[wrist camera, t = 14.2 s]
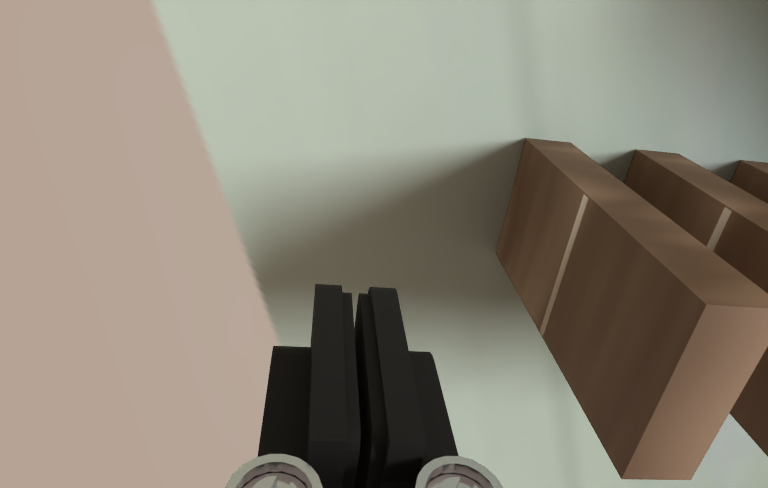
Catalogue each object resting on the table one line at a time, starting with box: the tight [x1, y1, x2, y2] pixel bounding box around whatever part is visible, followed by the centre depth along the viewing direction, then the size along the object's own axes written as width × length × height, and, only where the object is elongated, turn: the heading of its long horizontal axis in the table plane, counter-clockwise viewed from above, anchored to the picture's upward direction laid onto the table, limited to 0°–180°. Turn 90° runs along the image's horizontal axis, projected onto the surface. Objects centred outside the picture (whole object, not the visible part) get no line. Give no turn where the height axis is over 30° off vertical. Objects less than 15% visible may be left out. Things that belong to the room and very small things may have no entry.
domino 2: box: [624, 150, 768, 456], centre depth 17 cm, size 2×5×11 cm, turn 172°
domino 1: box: [496, 138, 768, 480], centre depth 16 cm, size 2×5×11 cm, turn 173°
